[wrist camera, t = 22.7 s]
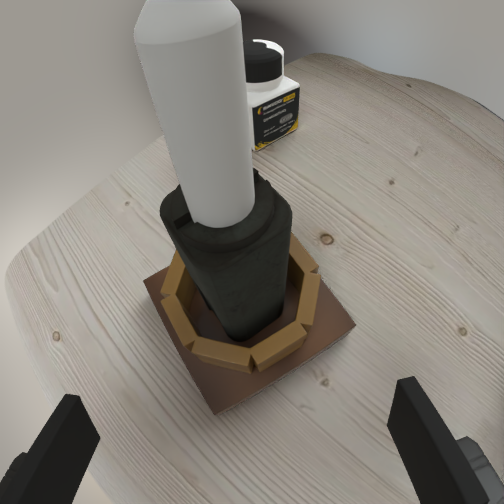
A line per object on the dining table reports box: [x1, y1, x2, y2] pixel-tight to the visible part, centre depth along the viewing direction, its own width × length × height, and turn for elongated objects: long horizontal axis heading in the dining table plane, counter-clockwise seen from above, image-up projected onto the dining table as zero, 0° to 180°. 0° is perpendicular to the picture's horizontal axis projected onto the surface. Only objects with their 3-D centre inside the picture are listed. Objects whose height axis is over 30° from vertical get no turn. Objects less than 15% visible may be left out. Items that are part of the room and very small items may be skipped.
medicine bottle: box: [243, 40, 300, 151], centre depth 34 cm, size 7×7×12 cm
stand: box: [143, 232, 356, 415], centre depth 25 cm, size 13×13×6 cm
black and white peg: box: [134, 0, 292, 342], centre depth 15 cm, size 5×5×25 cm
